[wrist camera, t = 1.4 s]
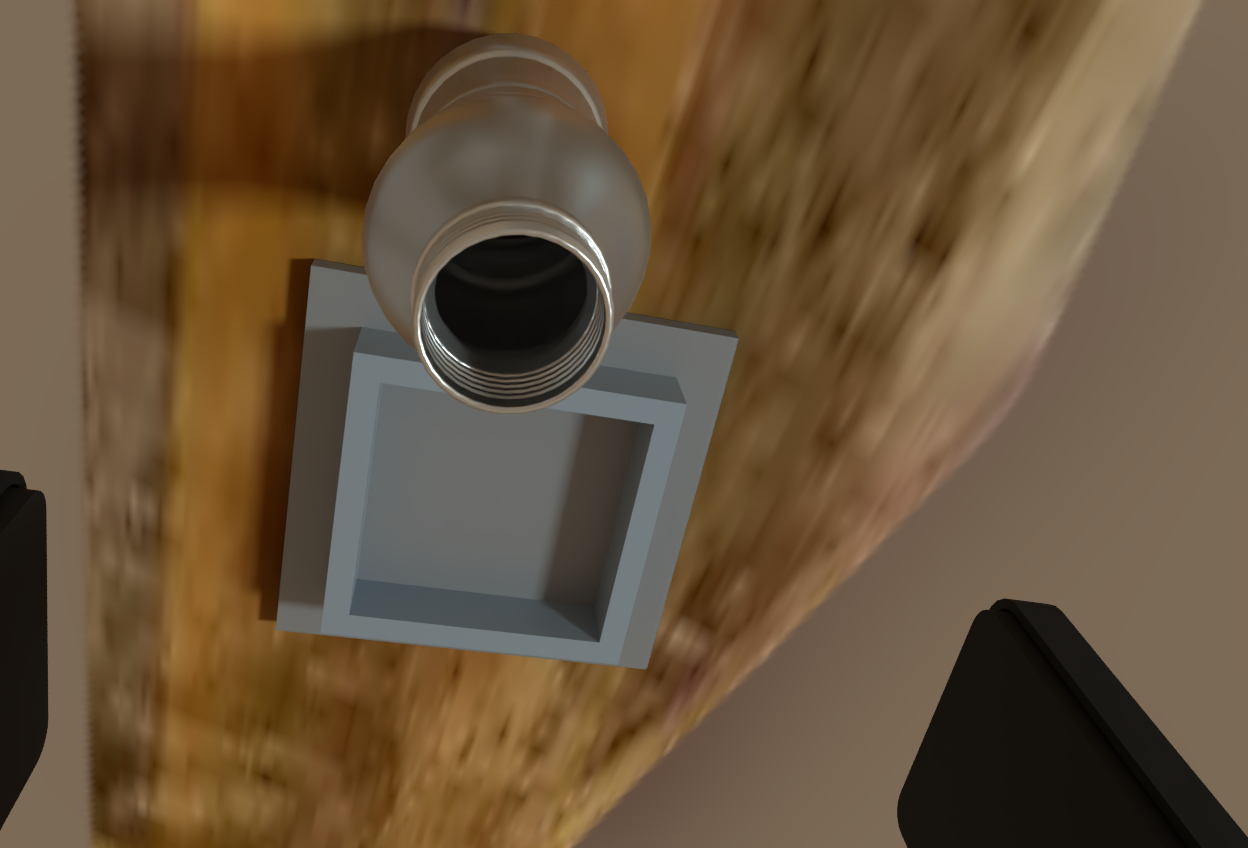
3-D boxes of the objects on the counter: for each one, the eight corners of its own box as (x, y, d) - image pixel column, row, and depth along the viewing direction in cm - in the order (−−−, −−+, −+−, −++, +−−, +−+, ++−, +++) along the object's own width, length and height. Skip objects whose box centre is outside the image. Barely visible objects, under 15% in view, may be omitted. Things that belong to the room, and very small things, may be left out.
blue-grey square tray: (314, 258, 38) (299, 287, 35) (734, 330, 41) (752, 363, 38) (279, 618, 44) (263, 668, 42) (644, 657, 47) (654, 707, 45)
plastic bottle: (638, 134, 37) (768, 333, 19) (496, 254, 39) (494, 545, 21) (518, -18, 35) (539, 50, 17) (370, 116, 36) (244, 313, 18)
